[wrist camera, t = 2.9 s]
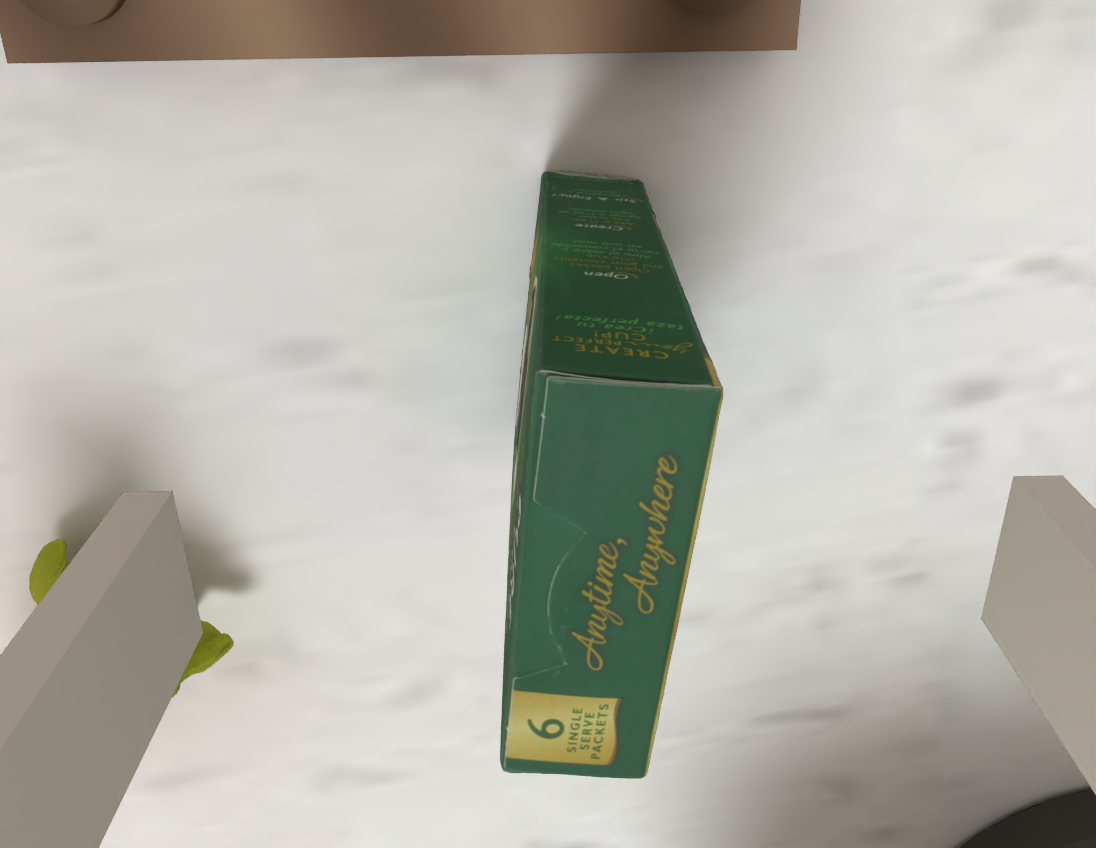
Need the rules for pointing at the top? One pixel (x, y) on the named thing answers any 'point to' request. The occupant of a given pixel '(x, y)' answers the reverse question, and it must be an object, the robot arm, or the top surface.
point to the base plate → (384, 28)
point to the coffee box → (601, 483)
